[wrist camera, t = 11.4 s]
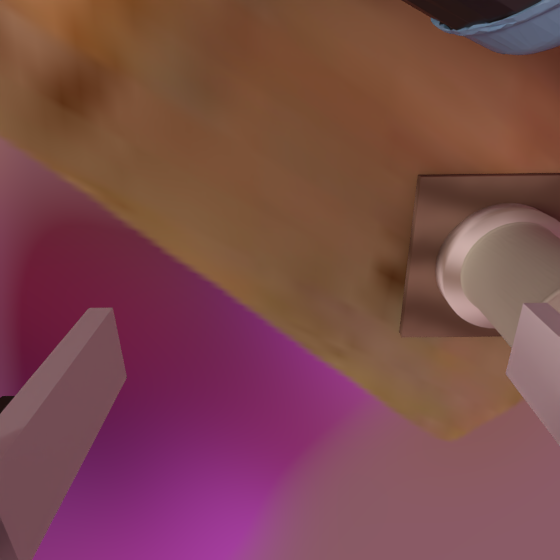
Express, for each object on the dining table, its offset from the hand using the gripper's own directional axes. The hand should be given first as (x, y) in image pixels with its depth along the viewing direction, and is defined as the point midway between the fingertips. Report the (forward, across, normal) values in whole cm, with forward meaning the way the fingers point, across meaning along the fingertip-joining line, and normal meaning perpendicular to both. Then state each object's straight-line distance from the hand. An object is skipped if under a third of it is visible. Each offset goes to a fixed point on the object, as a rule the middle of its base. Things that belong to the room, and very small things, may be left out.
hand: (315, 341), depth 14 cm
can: (+25, +20, -9) cm, 33 cm away
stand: (+29, +20, -9) cm, 36 cm away
